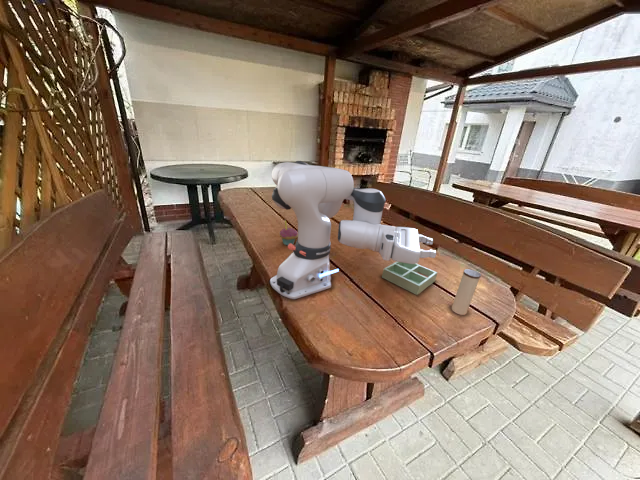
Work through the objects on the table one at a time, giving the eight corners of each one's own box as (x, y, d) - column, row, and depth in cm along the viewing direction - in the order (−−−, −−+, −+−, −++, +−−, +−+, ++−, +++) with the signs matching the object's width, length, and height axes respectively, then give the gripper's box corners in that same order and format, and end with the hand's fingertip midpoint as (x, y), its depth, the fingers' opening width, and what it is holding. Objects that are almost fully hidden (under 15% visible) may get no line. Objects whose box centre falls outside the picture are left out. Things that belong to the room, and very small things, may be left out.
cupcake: (285, 248, 116) (285, 223, 111) (275, 241, 122) (275, 217, 117) (301, 244, 121) (302, 219, 116) (291, 237, 127) (291, 214, 122)
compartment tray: (417, 295, 90) (419, 286, 88) (381, 277, 99) (383, 268, 98) (435, 281, 99) (437, 272, 98) (401, 265, 108) (403, 257, 107)
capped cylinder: (463, 317, 81) (478, 278, 75) (448, 309, 84) (461, 272, 78) (468, 311, 84) (483, 273, 78) (454, 304, 87) (466, 267, 81)
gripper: (387, 236, 93) (428, 243, 89) (383, 262, 75) (434, 273, 71) (390, 220, 90) (433, 226, 87) (387, 242, 72) (440, 252, 69)
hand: (434, 247), depth 79 cm, fingers open, 8 cm apart
